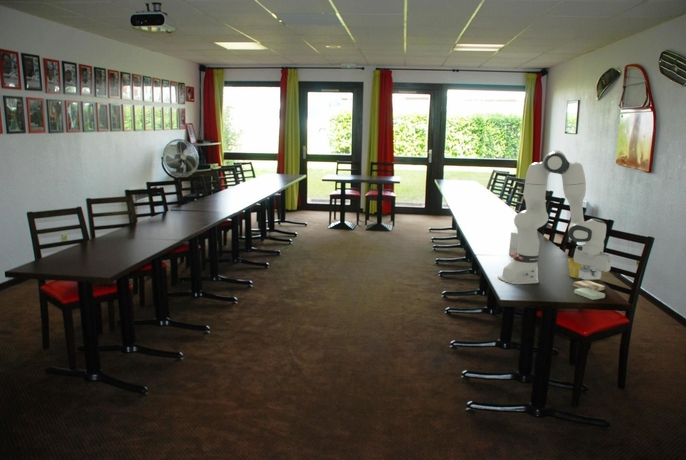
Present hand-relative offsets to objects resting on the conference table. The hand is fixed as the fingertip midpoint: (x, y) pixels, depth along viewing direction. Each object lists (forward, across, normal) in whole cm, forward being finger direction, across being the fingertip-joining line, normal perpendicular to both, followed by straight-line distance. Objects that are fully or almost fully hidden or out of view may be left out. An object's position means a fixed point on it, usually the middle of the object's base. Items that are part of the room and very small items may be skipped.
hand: (589, 274), depth 287 cm
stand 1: (+7, 0, 0) cm, 7 cm away
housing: (+2, 0, 0) cm, 2 cm away
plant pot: (+7, +17, -11) cm, 21 cm away
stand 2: (+7, -9, +11) cm, 16 cm away
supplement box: (+8, +67, -16) cm, 69 cm away
